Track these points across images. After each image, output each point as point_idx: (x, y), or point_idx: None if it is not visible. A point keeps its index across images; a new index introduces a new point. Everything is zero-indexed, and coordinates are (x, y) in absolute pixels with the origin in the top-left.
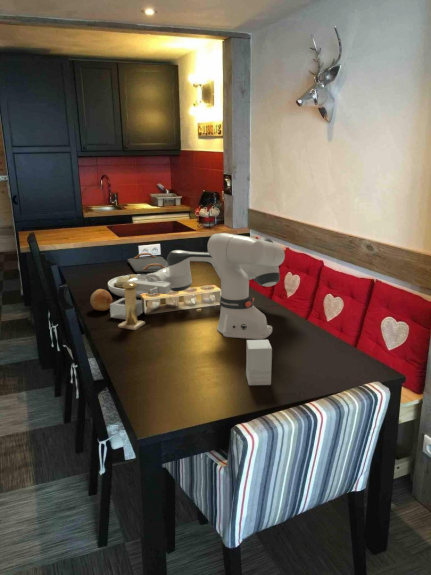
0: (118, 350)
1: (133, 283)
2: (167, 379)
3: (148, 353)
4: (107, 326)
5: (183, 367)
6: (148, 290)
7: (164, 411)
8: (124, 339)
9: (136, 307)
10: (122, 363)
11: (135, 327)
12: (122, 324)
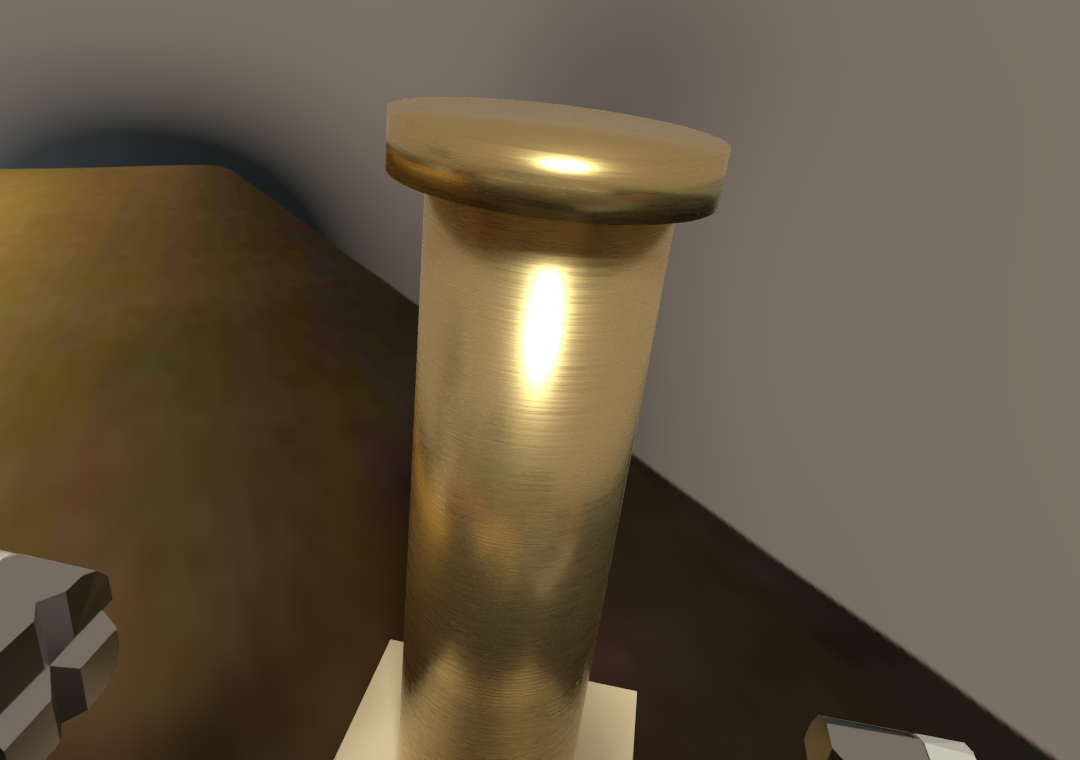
0: (415, 384)
1: (494, 125)
2: (115, 248)
3: (204, 363)
4: (777, 722)
5: (2, 286)
6: (81, 571)
7: (151, 188)
8: None
9: (407, 577)
10: (347, 311)
11: (385, 653)
12: (591, 710)
